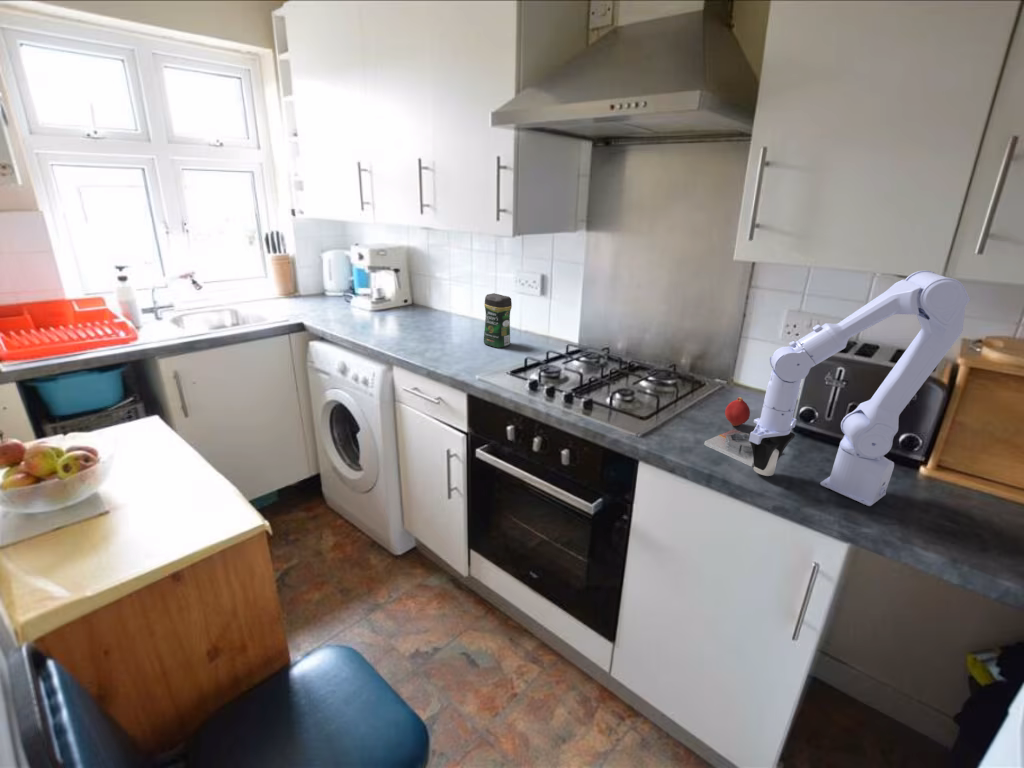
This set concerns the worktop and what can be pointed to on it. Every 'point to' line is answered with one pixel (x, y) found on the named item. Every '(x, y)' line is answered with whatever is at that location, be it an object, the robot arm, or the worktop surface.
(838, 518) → the worktop surface
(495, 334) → the coffee jar
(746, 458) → the hub plate
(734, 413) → the onion
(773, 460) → the knob
